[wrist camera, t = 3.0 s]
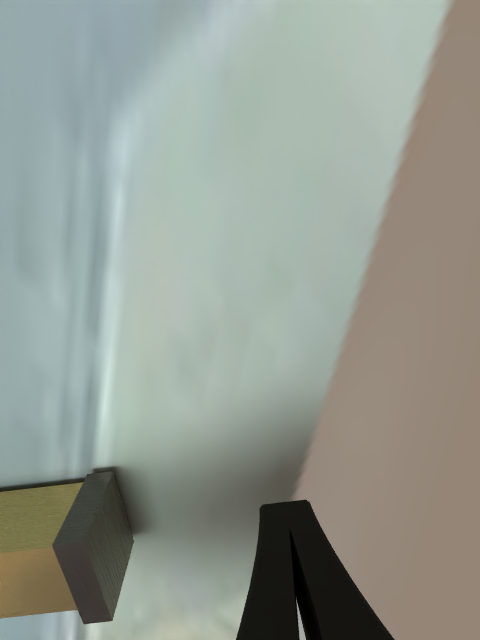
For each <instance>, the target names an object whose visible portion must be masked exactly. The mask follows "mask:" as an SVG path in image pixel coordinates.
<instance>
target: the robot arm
mask: <svg viewBox="0 0 480 640" xmlns="http://www.w3.org/2000/svg"><path fill="white" fill-rule="evenodd" d="M296 598H297V603H298V607H299V611H300V615H301V620H302V624H303V628H304V632H305V636H306V640H394V638H393V637H392V636H391V634H390V633H389V632H388V630H387V629H386V628H385V626H384V625H383V624H382V622H381V621H380V619H379V618H378V617H377V616H376V614H375V613H374V611H373V610H372V608H371V607H370V605H369V604H368V603H367V601H366V600H365V598H364V597H363V595H362V594H361V592H360V591H359V589H358V588H357V586H356V585H355V583H354V582H353V580H352V579H351V577H350V576H349V574H348V572H347V571H346V569H345V568H344V566H343V564H342V563H341V561H340V560H339V558H338V556H337V555H336V553H335V551H334V550H333V548H332V546H331V544H330V543H329V541H328V539H327V537H326V535H325V534H324V532H323V530H322V528H321V526H320V524H319V522H318V520H317V518H316V516H315V514H314V512H313V509H312V507H311V504H310V502H308V501H307V500H299V501H290V502H281V503H273V504H264V505H262V506H261V507H260V522H259V535H258V543H257V550H256V556H255V561H254V567H253V572H252V577H251V582H250V587H249V591H248V595H247V599H246V603H245V607H244V611H243V615H242V620H241V623H240V627H239V631H238V634H237V638H236V640H300V639H299V627H298V615H297V604H296Z"/></svg>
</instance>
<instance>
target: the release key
mask: <svg viewBox="0 0 480 640" xmlns="http://www.w3.org/2000/svg"><path fill="white" fill-rule="evenodd" d="M133 543H134V540H133V537H132V533H131V530H130V527H129V523H128V520H127V517H126V513H125V510H124V506H123V503H122V500H121V496H120V493H119V490H118V486H117V483H116V480H115V476H114V473H113V471H110V472H101V473H92V474H87V476H86V478H85V480H84V482H82V483H74V484H65V485H56V486H48V487H39V488H30V489H22V490H13V491H4V492H0V618H7V617H16V616H25V615H34V614H43V613H52V612H61V611H70V610H78V611H79V614H80V616H81V619H82V621H83V624H90V623H99V622H108V621H112V620H113V617H114V613H115V609H116V606H117V602H118V598H119V595H120V591H121V587H122V583H123V580H124V576H125V572H126V569H127V565H128V561H129V558H130V554H131V550H132V547H133Z"/></svg>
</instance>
